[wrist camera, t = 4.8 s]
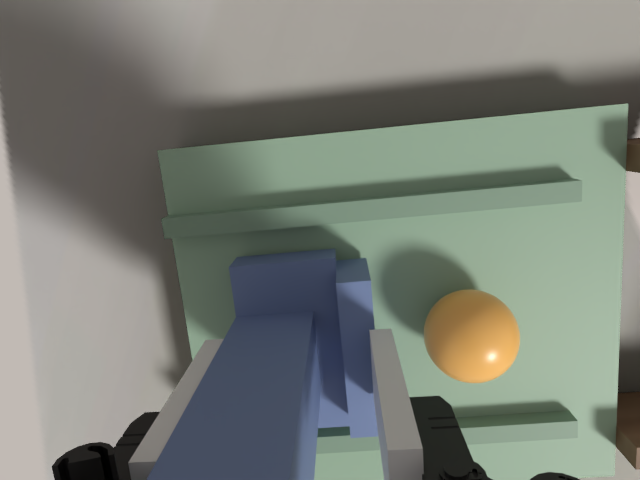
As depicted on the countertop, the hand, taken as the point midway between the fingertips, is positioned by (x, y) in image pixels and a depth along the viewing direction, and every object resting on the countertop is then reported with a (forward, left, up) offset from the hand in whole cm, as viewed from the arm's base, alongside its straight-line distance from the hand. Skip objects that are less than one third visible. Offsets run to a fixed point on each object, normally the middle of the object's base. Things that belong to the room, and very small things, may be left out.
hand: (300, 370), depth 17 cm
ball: (0, +6, -2) cm, 7 cm away
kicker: (0, 0, -4) cm, 4 cm away
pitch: (0, +4, -6) cm, 7 cm away
